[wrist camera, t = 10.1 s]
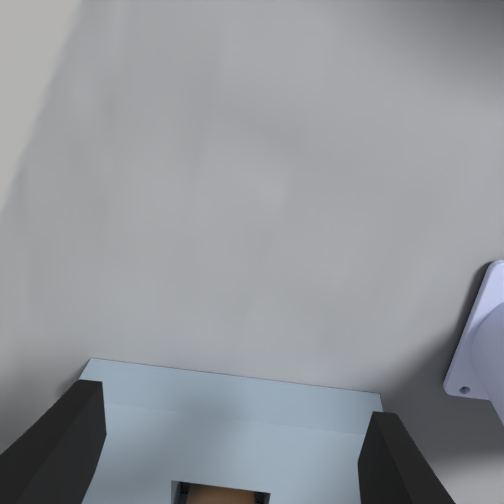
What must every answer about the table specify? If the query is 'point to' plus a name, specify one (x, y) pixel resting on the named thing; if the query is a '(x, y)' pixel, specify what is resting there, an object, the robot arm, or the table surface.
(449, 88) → the table surface
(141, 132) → the table surface
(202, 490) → the walnut peg
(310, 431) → the socket block
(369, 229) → the table surface
